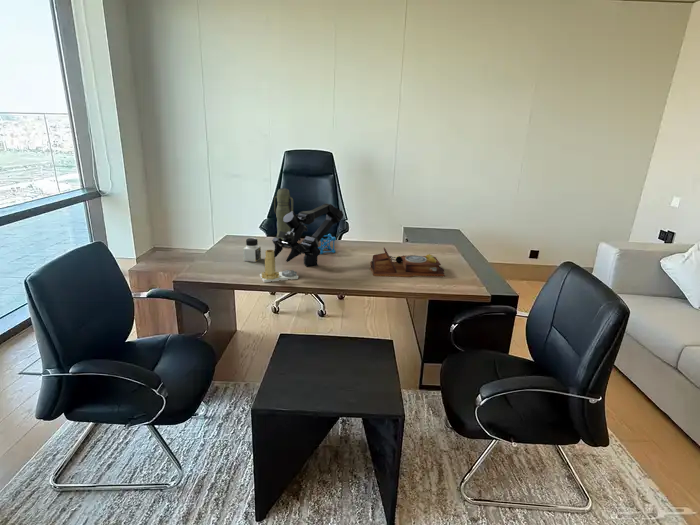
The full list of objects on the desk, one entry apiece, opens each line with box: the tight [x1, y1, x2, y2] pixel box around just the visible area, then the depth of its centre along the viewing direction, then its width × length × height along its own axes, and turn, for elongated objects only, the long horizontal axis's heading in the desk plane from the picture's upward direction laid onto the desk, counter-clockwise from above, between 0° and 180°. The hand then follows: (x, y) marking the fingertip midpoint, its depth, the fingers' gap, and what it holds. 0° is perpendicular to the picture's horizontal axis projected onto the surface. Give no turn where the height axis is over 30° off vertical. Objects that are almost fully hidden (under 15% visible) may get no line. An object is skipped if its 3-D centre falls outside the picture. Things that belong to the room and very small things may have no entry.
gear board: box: [259, 269, 299, 283], centre depth 205 cm, size 17×9×4 cm, turn 113°
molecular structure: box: [318, 233, 337, 255], centre depth 248 cm, size 10×10×10 cm
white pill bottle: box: [243, 237, 262, 263], centre depth 228 cm, size 7×7×12 cm
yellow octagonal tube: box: [260, 249, 280, 280], centre depth 201 cm, size 8×8×13 cm
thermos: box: [273, 187, 294, 248], centre depth 254 cm, size 9×12×35 cm
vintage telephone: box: [369, 247, 446, 278], centre depth 223 cm, size 24×12×40 cm
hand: (280, 259), depth 206 cm, fingers open, 9 cm apart
